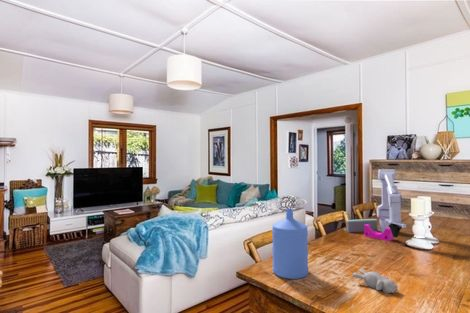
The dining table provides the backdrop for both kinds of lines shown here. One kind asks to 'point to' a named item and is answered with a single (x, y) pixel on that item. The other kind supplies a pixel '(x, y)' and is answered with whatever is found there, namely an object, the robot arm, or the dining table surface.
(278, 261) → the water jug
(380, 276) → the bunny figurine
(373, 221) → the backstop wall
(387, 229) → the toy block
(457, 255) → the dining table surface
